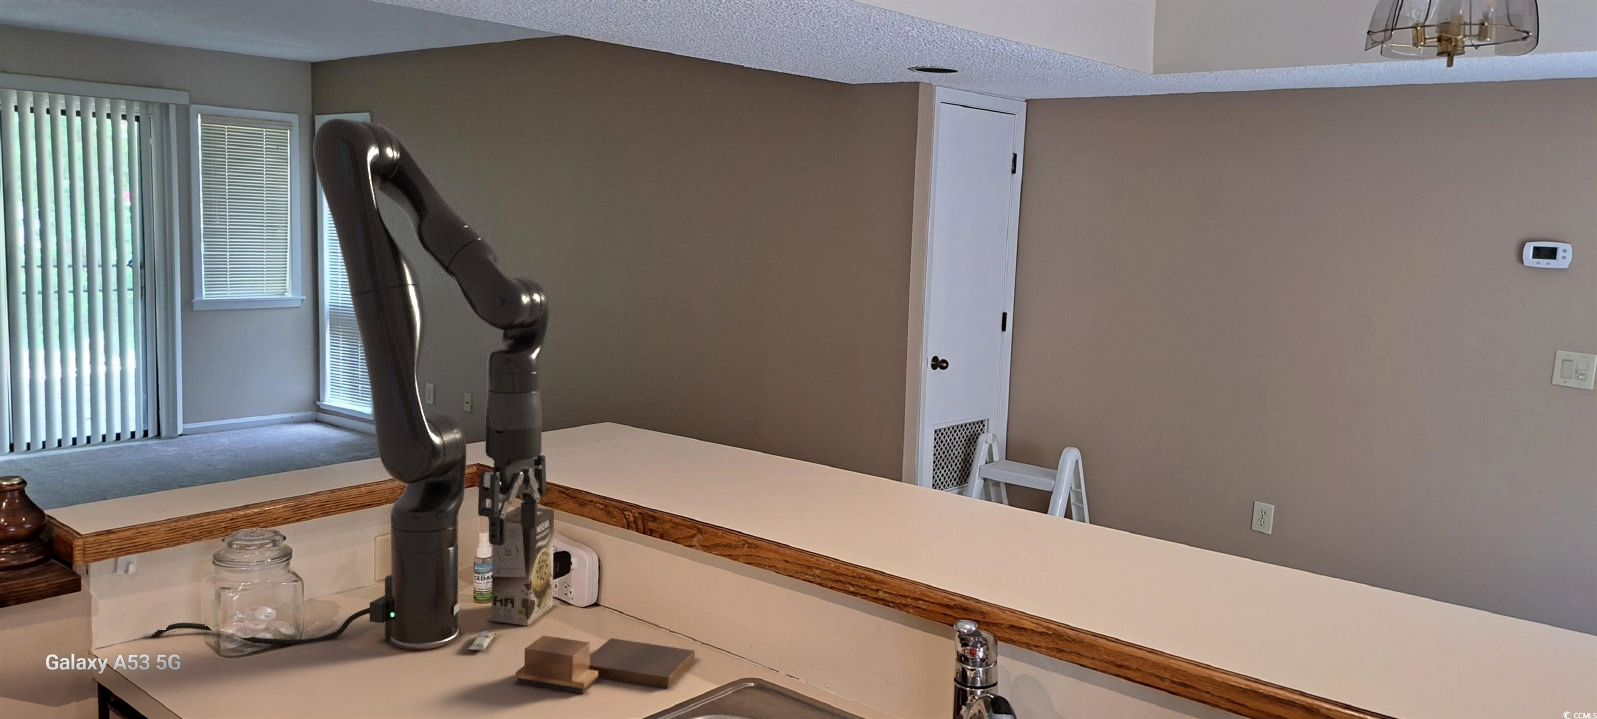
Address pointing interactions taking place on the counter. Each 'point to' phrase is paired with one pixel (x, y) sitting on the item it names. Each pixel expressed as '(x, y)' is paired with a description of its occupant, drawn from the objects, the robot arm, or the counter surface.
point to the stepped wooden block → (558, 665)
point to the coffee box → (523, 570)
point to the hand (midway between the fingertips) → (513, 535)
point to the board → (640, 662)
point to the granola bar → (482, 640)
